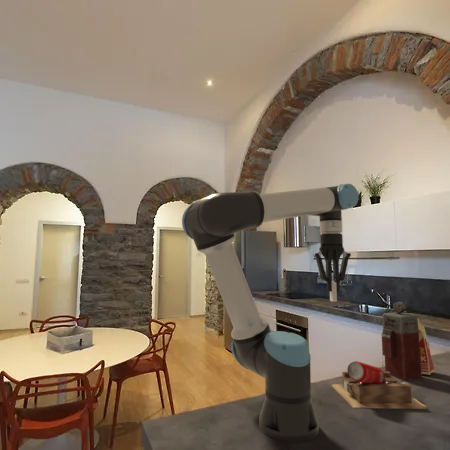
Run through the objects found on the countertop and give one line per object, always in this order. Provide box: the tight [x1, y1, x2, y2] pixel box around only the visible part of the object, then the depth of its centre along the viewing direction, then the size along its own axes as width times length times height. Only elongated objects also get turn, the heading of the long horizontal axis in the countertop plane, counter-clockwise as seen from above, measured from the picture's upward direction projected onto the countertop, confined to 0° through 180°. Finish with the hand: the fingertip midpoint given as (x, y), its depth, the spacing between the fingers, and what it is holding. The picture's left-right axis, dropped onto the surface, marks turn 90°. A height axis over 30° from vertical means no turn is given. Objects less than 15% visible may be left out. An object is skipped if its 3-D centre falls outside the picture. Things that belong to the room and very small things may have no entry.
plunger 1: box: [344, 381, 365, 391], centre depth 105 cm, size 7×2×2 cm, turn 92°
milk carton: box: [418, 318, 436, 376], centre depth 133 cm, size 9×9×20 cm
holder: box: [331, 370, 428, 410], centre depth 106 cm, size 22×18×6 cm
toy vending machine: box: [381, 301, 422, 382], centre depth 128 cm, size 9×11×28 cm
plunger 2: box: [385, 379, 409, 385], centre depth 106 cm, size 7×2×2 cm, turn 92°
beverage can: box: [346, 360, 385, 384], centre depth 103 cm, size 6×6×15 cm
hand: (333, 301), depth 113 cm, fingers closed
